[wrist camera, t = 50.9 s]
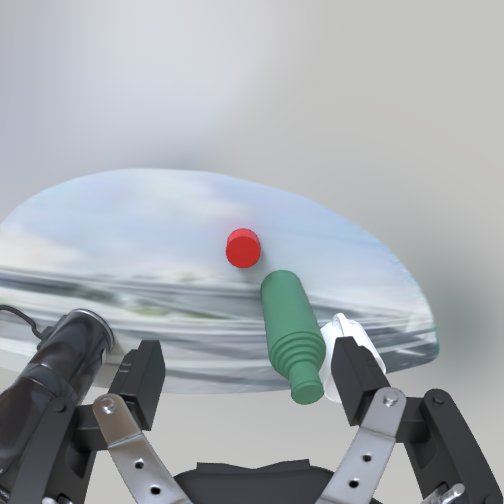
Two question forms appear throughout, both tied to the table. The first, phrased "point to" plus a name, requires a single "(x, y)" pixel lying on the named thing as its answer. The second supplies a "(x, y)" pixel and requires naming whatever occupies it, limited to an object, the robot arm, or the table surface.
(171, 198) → the table surface
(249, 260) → the cap
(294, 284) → the bottle
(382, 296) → the table surface
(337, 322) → the mug
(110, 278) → the table surface
